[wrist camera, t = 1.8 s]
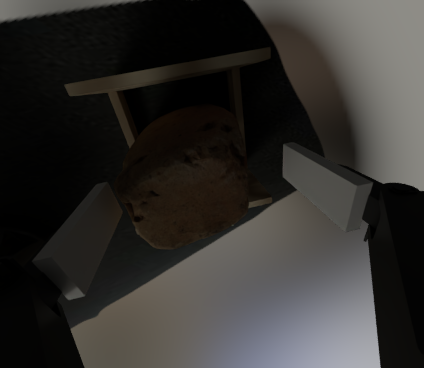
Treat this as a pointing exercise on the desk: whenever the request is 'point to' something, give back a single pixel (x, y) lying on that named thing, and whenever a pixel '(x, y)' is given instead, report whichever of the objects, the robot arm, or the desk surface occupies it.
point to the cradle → (177, 72)
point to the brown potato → (185, 176)
